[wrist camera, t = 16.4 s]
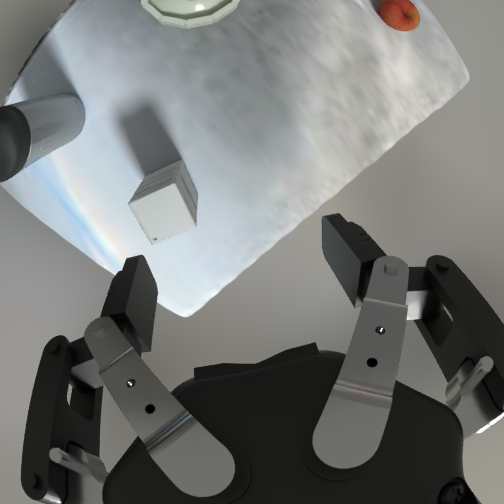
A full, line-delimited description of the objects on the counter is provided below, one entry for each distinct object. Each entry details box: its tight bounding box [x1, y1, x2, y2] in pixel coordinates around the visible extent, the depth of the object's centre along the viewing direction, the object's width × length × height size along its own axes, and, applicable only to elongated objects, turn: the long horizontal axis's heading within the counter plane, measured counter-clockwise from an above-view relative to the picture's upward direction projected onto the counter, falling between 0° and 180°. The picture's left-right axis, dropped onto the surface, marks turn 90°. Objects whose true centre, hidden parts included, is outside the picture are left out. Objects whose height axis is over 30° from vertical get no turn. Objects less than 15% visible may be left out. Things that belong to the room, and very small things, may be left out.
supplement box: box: [128, 159, 198, 245], centre depth 41 cm, size 7×7×13 cm
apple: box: [379, 0, 420, 31], centre depth 28 cm, size 7×7×8 cm
